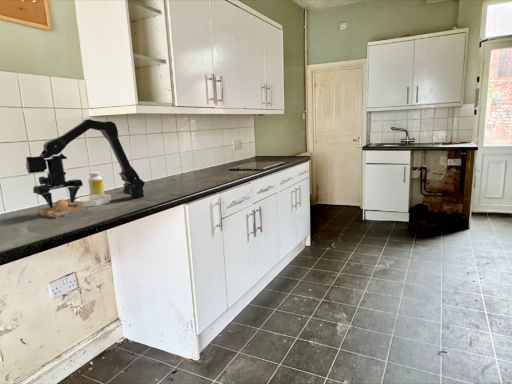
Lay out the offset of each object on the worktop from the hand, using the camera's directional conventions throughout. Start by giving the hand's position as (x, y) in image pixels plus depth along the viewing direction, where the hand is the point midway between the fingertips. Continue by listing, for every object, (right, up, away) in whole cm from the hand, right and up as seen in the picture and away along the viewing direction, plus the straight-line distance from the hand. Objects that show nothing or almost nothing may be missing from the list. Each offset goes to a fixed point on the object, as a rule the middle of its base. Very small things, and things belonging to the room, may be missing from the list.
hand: (62, 205), depth 154 cm
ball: (0, -2, 0) cm, 2 cm away
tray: (0, -3, +1) cm, 3 cm away
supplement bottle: (+1, +3, +33) cm, 33 cm away
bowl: (+7, 0, +15) cm, 16 cm away
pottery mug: (+18, +5, +39) cm, 43 cm away
